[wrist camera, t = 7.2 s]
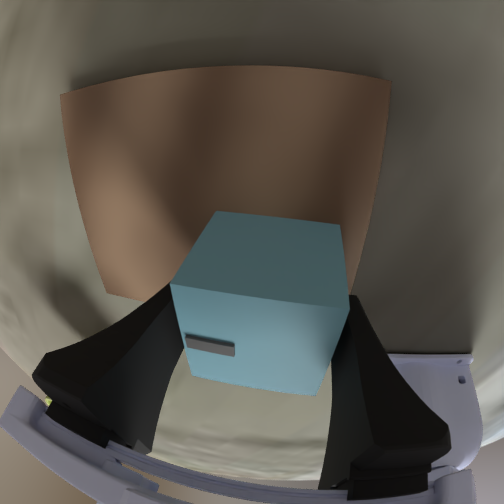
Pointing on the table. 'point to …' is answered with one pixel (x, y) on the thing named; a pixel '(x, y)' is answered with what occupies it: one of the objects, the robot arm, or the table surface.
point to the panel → (219, 160)
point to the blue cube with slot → (262, 301)
